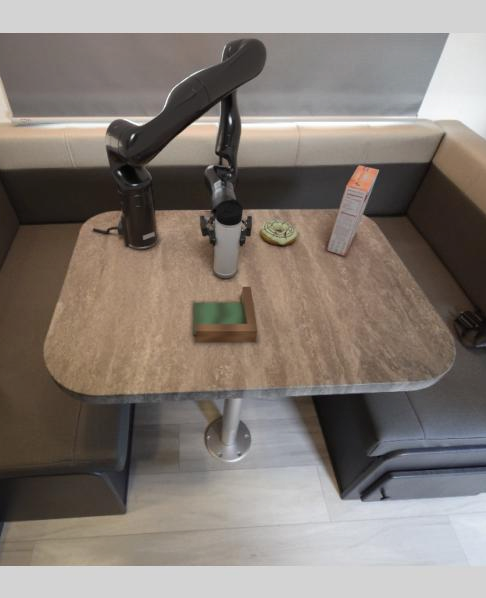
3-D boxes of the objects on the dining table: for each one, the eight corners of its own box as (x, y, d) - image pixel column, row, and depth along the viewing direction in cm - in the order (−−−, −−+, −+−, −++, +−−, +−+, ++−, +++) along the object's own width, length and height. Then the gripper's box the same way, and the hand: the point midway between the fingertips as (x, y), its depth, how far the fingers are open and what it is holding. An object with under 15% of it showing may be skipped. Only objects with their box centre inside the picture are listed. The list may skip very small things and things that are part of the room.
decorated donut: (285, 252, 102) (288, 242, 100) (253, 239, 106) (255, 229, 104) (300, 235, 108) (303, 225, 106) (270, 223, 112) (271, 213, 110)
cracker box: (337, 227, 112) (358, 163, 97) (356, 233, 110) (381, 169, 95) (324, 250, 103) (345, 184, 88) (344, 257, 101) (370, 190, 86)
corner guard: (193, 342, 79) (193, 330, 76) (193, 297, 88) (193, 286, 86) (255, 342, 79) (257, 330, 76) (249, 297, 89) (250, 286, 86)
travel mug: (240, 266, 96) (247, 202, 82) (231, 281, 92) (237, 216, 78) (219, 260, 98) (223, 195, 84) (209, 274, 94) (211, 209, 80)
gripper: (198, 194, 94) (198, 230, 83) (251, 194, 95) (259, 230, 83) (198, 218, 100) (198, 255, 88) (248, 218, 100) (255, 255, 89)
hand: (228, 243), depth 86 cm, fingers closed on travel mug, 6 cm apart
